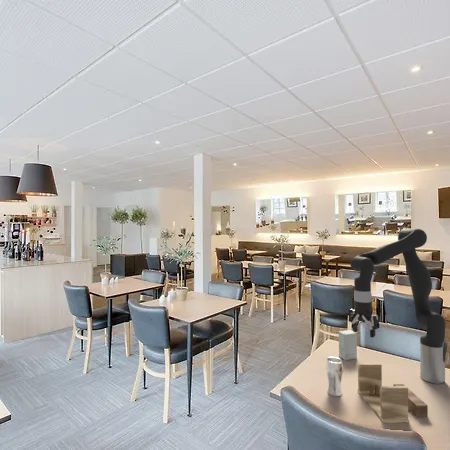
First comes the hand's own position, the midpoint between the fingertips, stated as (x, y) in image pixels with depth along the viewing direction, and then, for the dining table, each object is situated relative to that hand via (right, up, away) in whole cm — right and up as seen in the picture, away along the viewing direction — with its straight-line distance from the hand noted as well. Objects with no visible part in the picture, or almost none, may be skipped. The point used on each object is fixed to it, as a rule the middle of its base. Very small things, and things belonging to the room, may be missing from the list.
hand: (363, 334), depth 141 cm
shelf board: (+13, -25, -13) cm, 32 cm away
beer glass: (-15, -26, -4) cm, 30 cm away
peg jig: (+1, -25, -13) cm, 29 cm away
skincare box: (+6, -25, +33) cm, 42 cm away
